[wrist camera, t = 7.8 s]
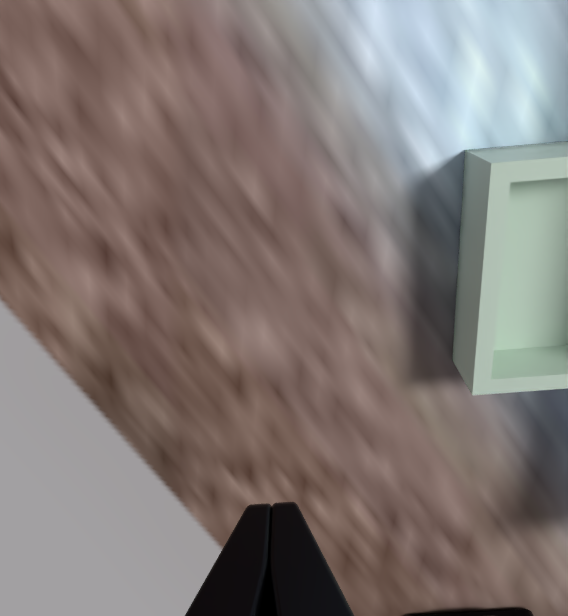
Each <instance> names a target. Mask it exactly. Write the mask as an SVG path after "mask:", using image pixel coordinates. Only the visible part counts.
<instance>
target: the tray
mask: <svg viewBox="0 0 568 616" xmlns="http://www.w3.org/2000/svg"><path fill="white" fill-rule="evenodd" d="M452 360H453V362H454V364H455V366H456V367H457V369H458V371H459V373H460V375H461V376H462V378H463V380H464V382H465V383H466V385H467V387H468V389H469V390H470V392H471V394H472V395H483V394H497V393H511V392H525V391H539V390H553V389H567V388H568V141H564V142H553V143H541V144H529V145H518V146H506V147H494V148H483V149H471V150H465V159H464V176H463V192H462V208H461V225H460V241H459V258H458V274H457V290H456V307H455V323H454V340H453V356H452Z"/></svg>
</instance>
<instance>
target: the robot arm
mask: <svg viewBox="0 0 568 616" xmlns="http://www.w3.org/2000/svg"><path fill="white" fill-rule="evenodd" d="M185 616H354V614H353V612H352V610H351V609H350V607H349V605H348V603H347V601H346V599H345V597H344V595H343V593H342V591H341V589H340V587H339V585H338V583H337V581H336V579H335V577H334V575H333V573H332V572H331V570H330V568H329V566H328V564H327V562H326V560H325V558H324V556H323V554H322V552H321V550H320V548H319V546H318V544H317V542H316V540H315V538H314V536H313V534H312V533H311V531H310V529H309V527H308V525H307V523H306V521H305V519H304V517H303V515H302V513H301V511H300V509H299V507H298V505H297V504H296V503H295V502H283V503H275V504H273V506H271V505H270V504H254V505H249V506H248V507H247V508H246V509H245V511H244V513H243V514H242V516H241V518H240V520H239V522H238V523H237V525H236V527H235V529H234V530H233V532H232V534H231V536H230V537H229V539H228V541H227V543H226V544H225V546H224V548H223V550H222V551H221V553H220V555H219V557H218V559H217V560H216V562H215V564H214V565H213V567H212V569H211V571H210V573H209V574H208V576H207V578H206V579H205V582H204V583H203V585H202V586H201V588H200V590H199V592H198V594H197V595H196V597H195V599H194V601H193V602H192V604H191V606H190V608H189V609H188V611H187V613H186V615H185ZM420 616H533V614H532V612H531V611H529V610H526V609H521V610H504V611H487V612H471V613H454V614H437V615H420Z"/></svg>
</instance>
